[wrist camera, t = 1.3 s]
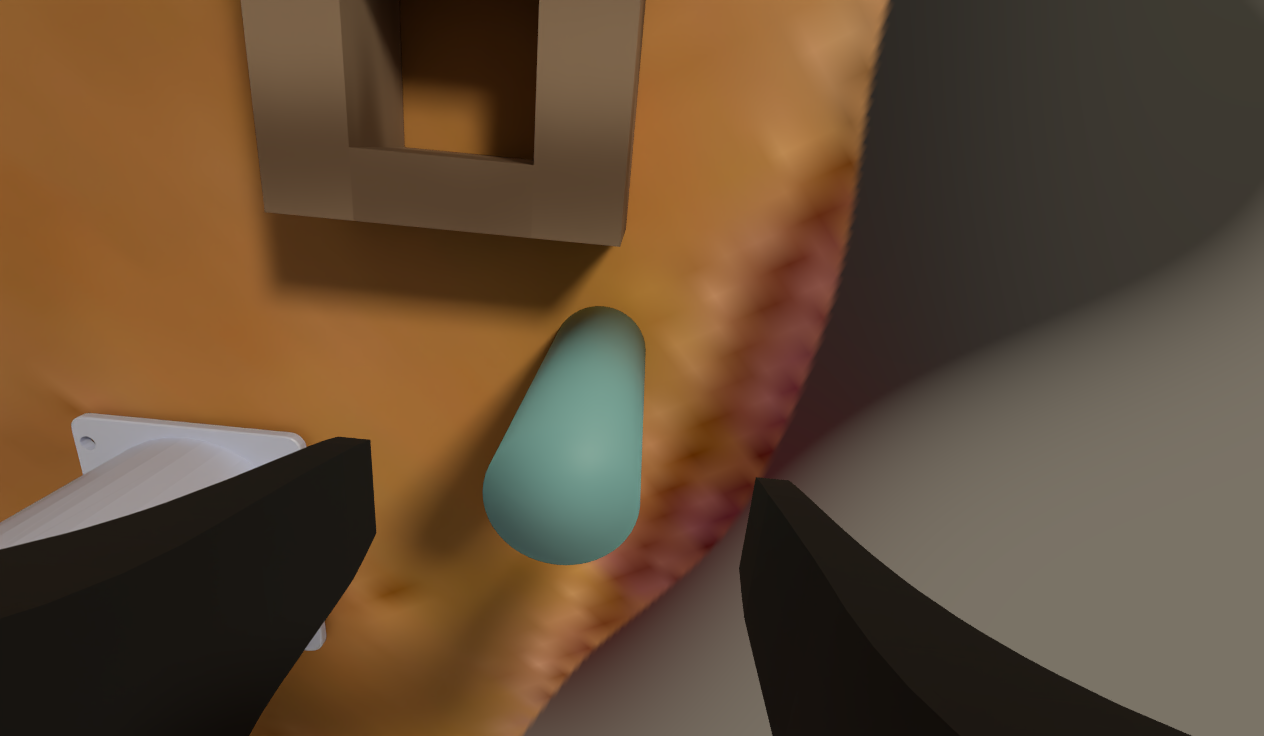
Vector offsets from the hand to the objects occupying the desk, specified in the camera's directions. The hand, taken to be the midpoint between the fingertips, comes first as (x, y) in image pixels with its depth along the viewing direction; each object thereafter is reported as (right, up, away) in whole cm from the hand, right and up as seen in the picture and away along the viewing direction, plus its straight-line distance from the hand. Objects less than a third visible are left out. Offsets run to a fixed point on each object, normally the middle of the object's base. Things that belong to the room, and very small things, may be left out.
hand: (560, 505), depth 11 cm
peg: (0, +3, +9) cm, 9 cm away
